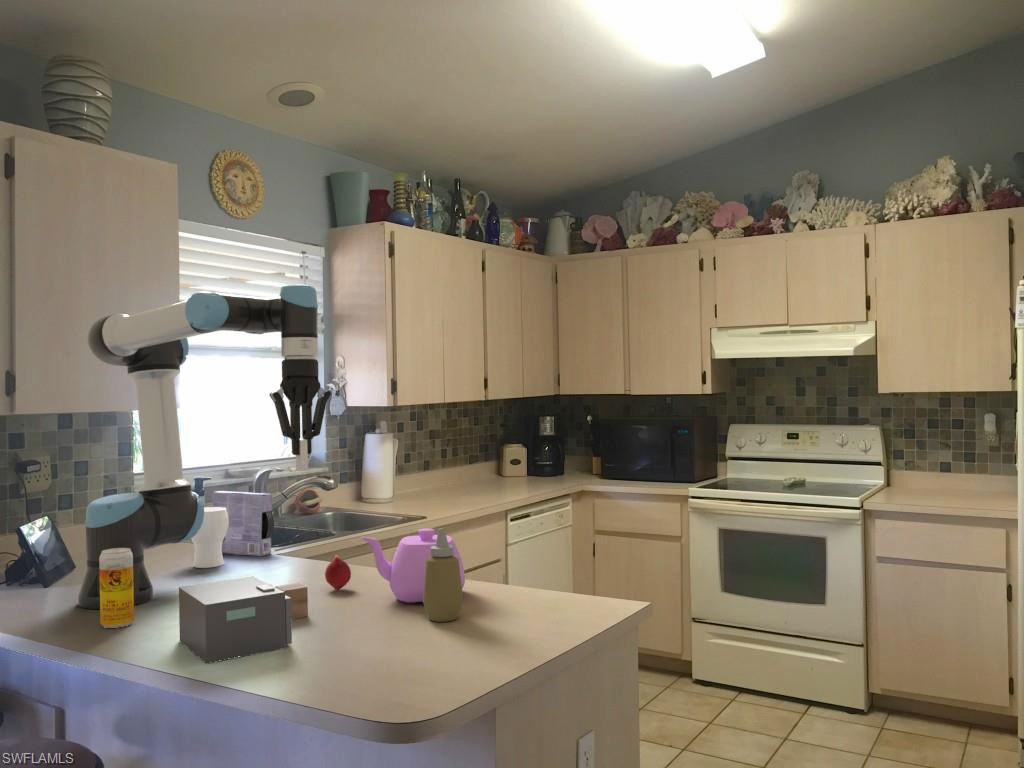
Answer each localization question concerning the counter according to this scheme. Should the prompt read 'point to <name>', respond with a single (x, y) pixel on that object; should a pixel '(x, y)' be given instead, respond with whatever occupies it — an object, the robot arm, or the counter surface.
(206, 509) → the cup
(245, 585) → the box
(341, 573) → the onion
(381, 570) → the teapot
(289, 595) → the brown wooden block
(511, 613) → the counter surface
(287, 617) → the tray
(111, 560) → the beer can
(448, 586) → the squeeze bottle
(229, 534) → the cake pan box
